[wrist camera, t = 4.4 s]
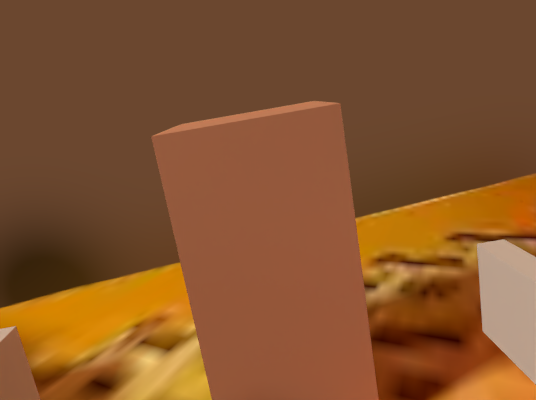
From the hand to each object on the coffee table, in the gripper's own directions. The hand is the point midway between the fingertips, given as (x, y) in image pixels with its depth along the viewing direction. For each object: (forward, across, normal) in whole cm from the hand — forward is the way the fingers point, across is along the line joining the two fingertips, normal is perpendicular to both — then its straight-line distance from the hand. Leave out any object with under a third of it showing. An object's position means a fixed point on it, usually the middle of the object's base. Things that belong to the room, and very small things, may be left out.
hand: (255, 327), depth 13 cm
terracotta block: (+6, +1, -6) cm, 9 cm away
